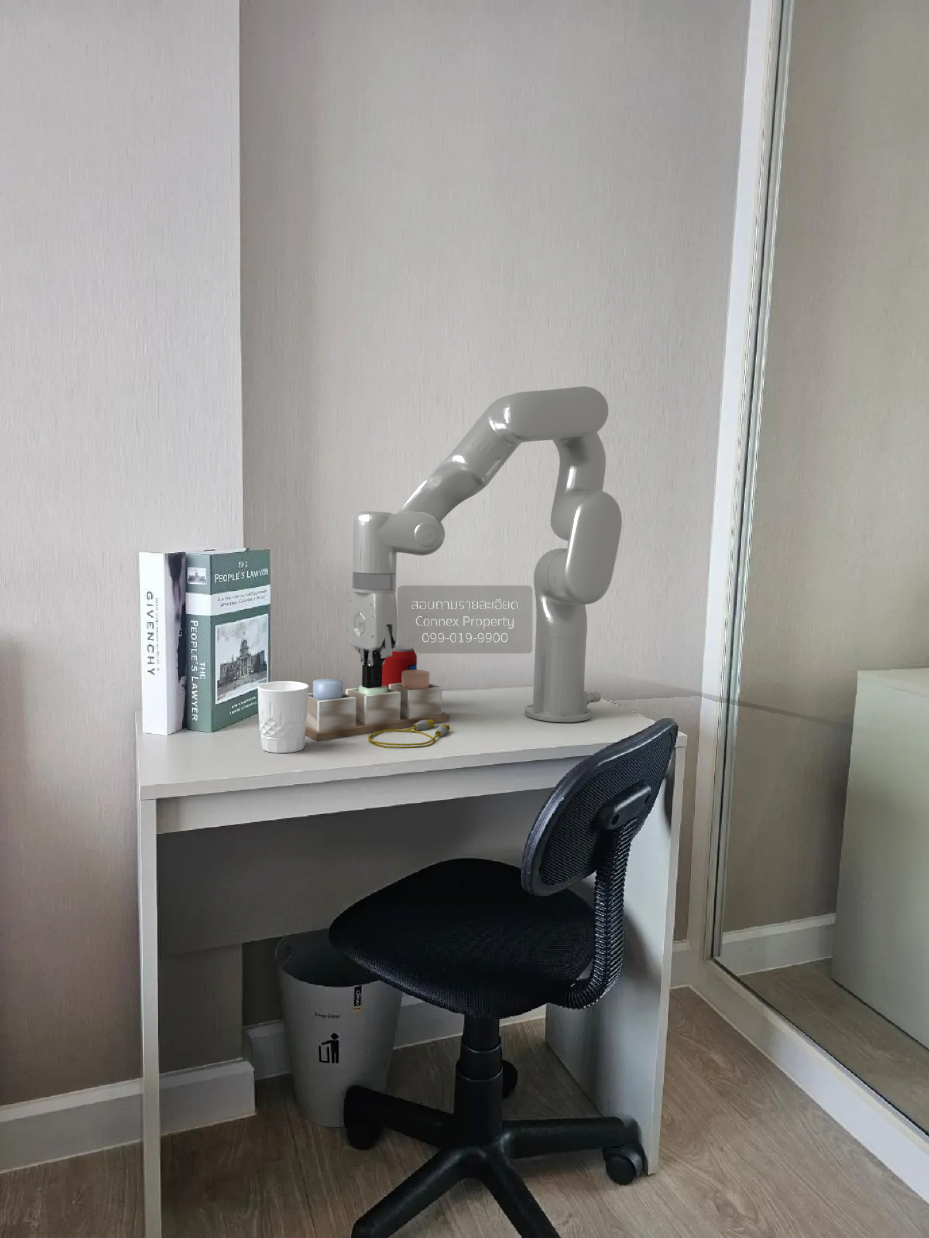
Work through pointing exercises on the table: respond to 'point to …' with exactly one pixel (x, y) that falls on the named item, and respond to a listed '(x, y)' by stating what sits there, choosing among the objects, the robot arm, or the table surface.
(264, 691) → the white cup
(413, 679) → the pink rounded cylinder
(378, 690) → the sage green cap
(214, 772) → the table surface
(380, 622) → the robot arm
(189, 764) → the table surface
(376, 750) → the table surface
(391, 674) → the beverage can
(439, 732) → the extension cord
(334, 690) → the slate blue cap
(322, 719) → the button board
